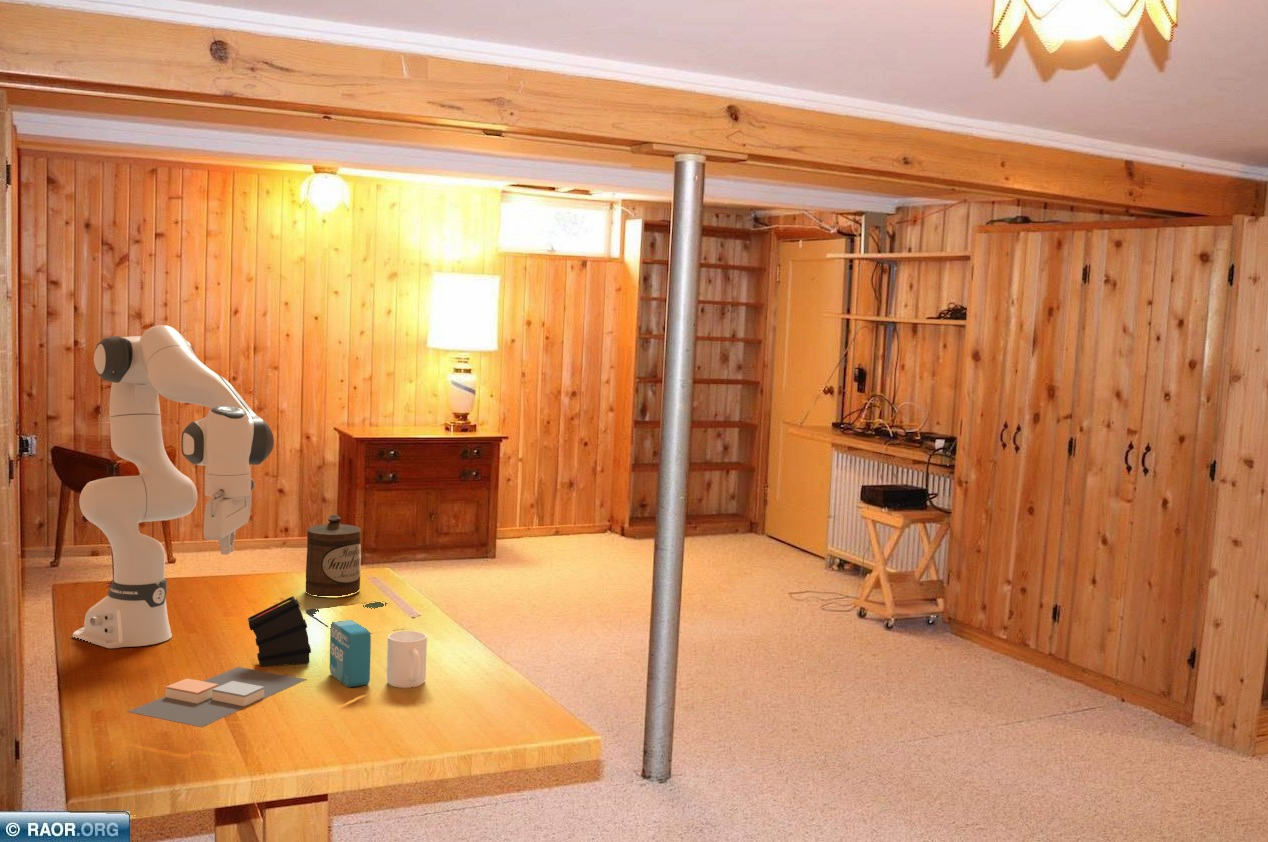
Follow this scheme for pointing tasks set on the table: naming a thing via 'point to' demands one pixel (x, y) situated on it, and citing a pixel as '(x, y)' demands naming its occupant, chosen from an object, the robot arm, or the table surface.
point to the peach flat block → (190, 690)
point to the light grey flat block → (238, 693)
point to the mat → (211, 708)
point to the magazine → (281, 634)
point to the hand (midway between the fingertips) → (227, 553)
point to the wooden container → (333, 559)
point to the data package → (350, 653)
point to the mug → (406, 659)
